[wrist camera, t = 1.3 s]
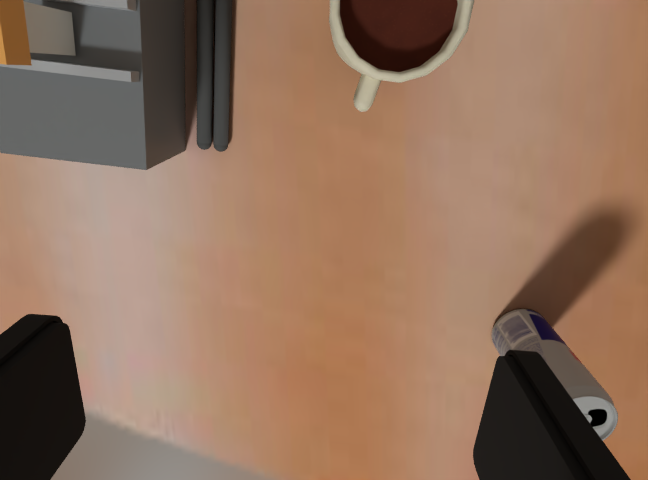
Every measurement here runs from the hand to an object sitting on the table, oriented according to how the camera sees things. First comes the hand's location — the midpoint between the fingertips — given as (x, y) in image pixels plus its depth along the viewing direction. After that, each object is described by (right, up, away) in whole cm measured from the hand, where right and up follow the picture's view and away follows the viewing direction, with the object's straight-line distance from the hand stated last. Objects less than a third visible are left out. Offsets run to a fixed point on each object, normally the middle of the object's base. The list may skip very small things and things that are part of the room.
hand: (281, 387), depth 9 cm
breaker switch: (-15, +16, +17) cm, 28 cm away
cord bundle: (-8, +18, +24) cm, 31 cm away
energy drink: (+20, -6, +33) cm, 39 cm away
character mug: (+5, +19, +24) cm, 31 cm away
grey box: (-15, +19, +24) cm, 34 cm away
